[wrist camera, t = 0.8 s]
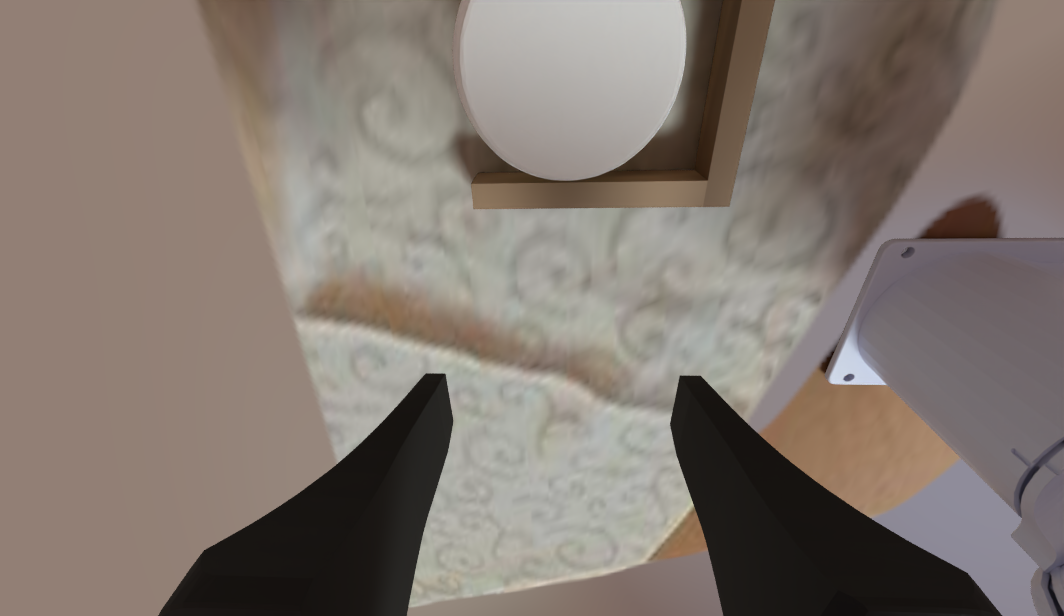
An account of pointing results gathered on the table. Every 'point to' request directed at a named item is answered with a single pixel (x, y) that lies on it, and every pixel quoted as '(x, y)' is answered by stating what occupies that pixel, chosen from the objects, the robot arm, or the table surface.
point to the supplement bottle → (568, 79)
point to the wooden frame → (701, 187)
